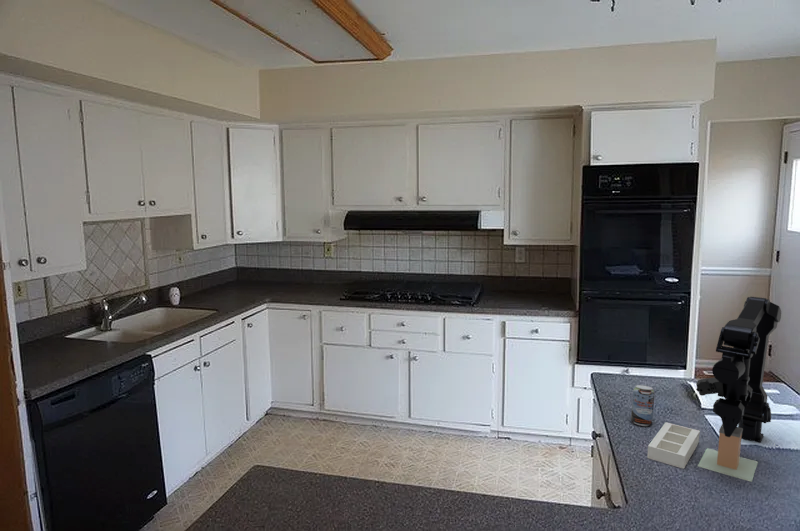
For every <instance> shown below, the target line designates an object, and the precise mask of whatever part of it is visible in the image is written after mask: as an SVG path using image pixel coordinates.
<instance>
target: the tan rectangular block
mask: <svg viewBox="0 0 800 531" xmlns="http://www.w3.org/2000/svg"><path fill="white" fill-rule="evenodd" d="M742 431H743V428H740V427H738V426H737V427H736V428H735V430H734V432H733V433H732V435H731V436H730V437H726V436H725V433H724V428H723V424H721V426H720V428H719V431H718V433H719V436H718V446H717V447H718V449H717V451H718V458H717V465H721V466H724V467H728V468H731V469H735V470H737V467H738V465H739V459H740V457H741V445H742V438H741V437H742Z"/></svg>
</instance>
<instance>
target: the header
mask: <svg viewBox="0 0 800 531" xmlns="http://www.w3.org/2000/svg"><path fill="white" fill-rule="evenodd" d="M700 433H701V431H700V430H698V429H695V428H690V427H687V426H682V425H678V424H674V423H670V422H666V421H665V422H664V424H663V425H662V427H661V428H660V429H659V430H658V432H657V433H656V435H655V436H654V437H653V439H652V440H651V442H650V443H649V444H648V445H647V457H646V458H647V459H648V460H653V461H656V462H659V463H662V464H665V465H666V464H667V465H670V466H673V467H676V468H679V469H685V467H686V466H687V464H688V463H689V461H690V458H692V455H693V454H694V452H695V450H696V449H697V446H699V445H698V444H699V442H700Z"/></svg>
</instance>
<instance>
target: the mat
mask: <svg viewBox="0 0 800 531" xmlns="http://www.w3.org/2000/svg"><path fill="white" fill-rule="evenodd" d="M717 458H718V450H716V449H713V448H708V447H707V448H706V449H705V451H704V453H703V455H702V457H701V458H700V461H699V463H698V464H697V467H698V468H702V469H706V470H709V471H711V472H715V473H719V474H723V475H726V476H729V477H732V478H736V479H740V480H744V481H748V482H750V483H752V482H753V478H754V476H755V472H756V469H757V467H758V464H759V461H756V460H753V459H749V458H745V457H742V456H740V459H739V465H738V467H737V470H735V469H731V468H728V467H724V466H721V465H717Z"/></svg>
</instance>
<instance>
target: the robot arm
mask: <svg viewBox="0 0 800 531" xmlns="http://www.w3.org/2000/svg"><path fill="white" fill-rule="evenodd" d="M781 319H782V309H781V307H780V306H779V305H777V304H775V303H773V302H772V301H771V300H770V299H767V298H766V297H760V296H759V297H758V296H747V297H746V300H745V301H744V303H743V309H742V310H741V312H739V315H738V316H737V318H736V319H732V320H728V321H727V322H726V324H725V325H724V326H723V327H721V330H720V333H719V337H718V341H717V344H716V348H715V352H716V353H722V355H721V358H720V359H719V360H718V361H716V363H714V365H713V366H712V370H711V371H712V374H713V377H709V378H708V377H707V378H701V379H698V380H697V381H696V383H695V384H696V389H695V390H696V391H697V392H698V394H699V396H701V397H702V396H703V397H704V396H705V395H714V394H717V396H718V397H719V398H718V399H716V400H715V401H714V403H713V405H712V412H713V413H714V414H715V415H717V416H718V417H719V418H721V419H720V420H721V422H722V424H723V428H724V433H725V436H726V437H730V436H731V435H732V433H733V432H734V430H735V428H736V427H740V428H743V431H742V437H741V439H744V440H748V441H752V442H755V443H762V441H763V438H764V434H763V433H762V429H763V428H762V427H763V424H767V423H771V422H772V410H771V407H770V403H769V402H768V393H767V392H766V391H765V389H764V386H763V382H764V373H765V367H766V362H767V361H766V360H767V353H768V344H769V338H770V335H771V334H772V333H773V332H774V331H775V330H776V329H777V327H778V323H780V322H781ZM722 424H721V425H722Z"/></svg>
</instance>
